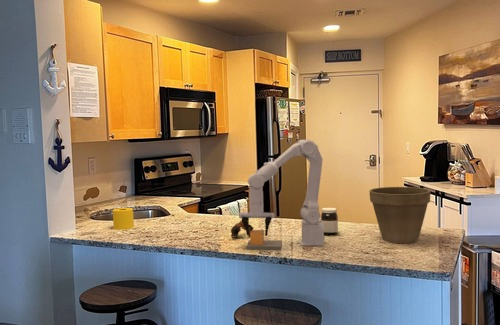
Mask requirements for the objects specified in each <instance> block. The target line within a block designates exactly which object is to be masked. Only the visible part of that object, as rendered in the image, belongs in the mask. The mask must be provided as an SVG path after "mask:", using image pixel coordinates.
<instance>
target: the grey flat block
mask: <svg viewBox="0 0 500 325" xmlns="http://www.w3.org/2000/svg"><path fill="white" fill-rule="evenodd" d="M281 246H283V240H282V239H281V240H276V239H275V240H274V239H273V240H271V239H270V240H268V239H264V243H263V245H251V240H248V242H247V244H246V246H245V250H246V251H281V250H282V247H281Z"/></svg>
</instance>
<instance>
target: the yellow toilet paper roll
mask: <svg viewBox="0 0 500 325" xmlns="http://www.w3.org/2000/svg"><path fill="white" fill-rule="evenodd" d="M134 221H135V220H134V209H133V208H132V207H119V208H115V209H112V224H113V230H117V231H124V230H125V231H126V230H130V229H133V228H135V226H134V225H135V224H134Z"/></svg>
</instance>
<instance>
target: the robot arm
mask: <svg viewBox="0 0 500 325" xmlns="http://www.w3.org/2000/svg"><path fill="white" fill-rule="evenodd" d="M298 156H304V158H306V160H307V161H308V162H309V166H308V168H309V170H308V175H307V176H308V177H307V185H306V186H307V187H306V193H305V200H304V201H303V204H302V207H301V209H300V211H299V212H300V213H299V214H300V217H301V218H302V220H301V240H300V245H301V246H315V247H316V246H318V247H319V246H322V247H323V246H325V242H324V241H325V235H324V225H323V223H319V219H320V218H321V213H320V205H319V201H318V200H319V194H320V183H321V178H322V177H321V176H322V170H323V161H324V160H323V157H322V154H321V152H320V150H319V146H318V144H316V143H315V142H314V141H313V140H311V139H300V140H297V142H295V143H293V144H292V145H290V147H289V148H288V149H286V150H285V151H284V152H283V153H281V154H280V155H279V156H278V157H277V158H276V159H275V160H273V161H268V162H264V163H263V166H261V167H260V168H259V169H257V170H255V171H254V173H252V174H251V175H250V176H249V177H248V180H247V183H248V185H249V189H248V190H249V192H248V193H249V194H248V195H249V197H248V198H249V202H248V203H249V212H239V213H238V218H239V219H241V221H242V223H243V225H244V227H245V229H246V230H245V232H246V236H247V237H248V236H249V224H250V223H249V222H250V219H264V224H265V231H264V237H267V236H268V234H269V233H268V232H269V227H270V225H271V222H272V220H273V219H275V212H265V211H264V191H263V190H264V189H263V187H264V185H265V182H267V181H269V180H270V179H271V178H272V177H274V176H275V175H276V174H277V173H278V171H279V168H280V167H281V166H283V165H284V164H286V163H287V162H289V161H290V160H291V159H292V158H293V157H298Z"/></svg>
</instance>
